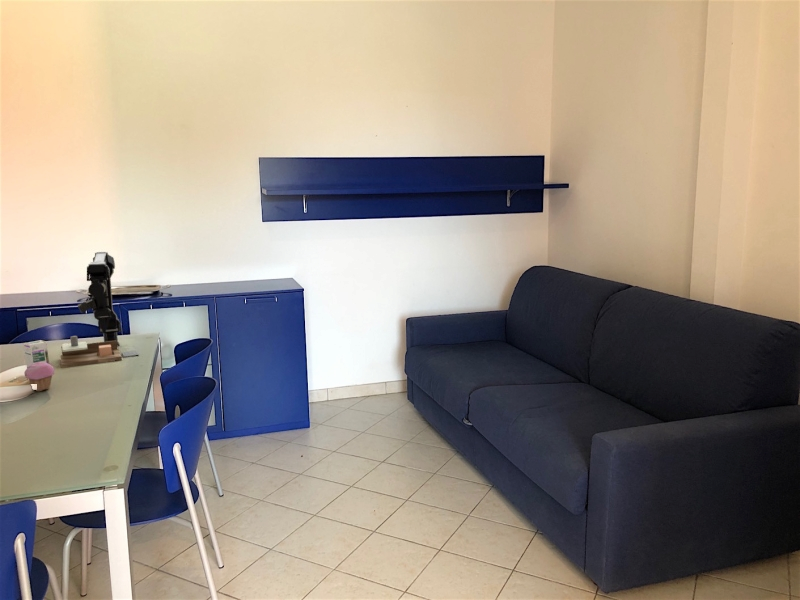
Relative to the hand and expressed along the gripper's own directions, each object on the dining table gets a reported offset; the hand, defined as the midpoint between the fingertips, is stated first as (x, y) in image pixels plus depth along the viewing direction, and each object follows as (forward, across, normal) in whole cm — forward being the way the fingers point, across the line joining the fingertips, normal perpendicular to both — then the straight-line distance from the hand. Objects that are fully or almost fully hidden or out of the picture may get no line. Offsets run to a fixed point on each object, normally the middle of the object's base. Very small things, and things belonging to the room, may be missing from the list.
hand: (103, 330), depth 251 cm
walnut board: (+12, 0, -6) cm, 13 cm away
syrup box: (+12, +23, -24) cm, 35 cm away
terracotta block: (+12, 0, 0) cm, 12 cm away
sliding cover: (+7, -2, -11) cm, 13 cm away
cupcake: (+12, +37, -22) cm, 45 cm away
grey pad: (+12, 0, +10) cm, 15 cm away
